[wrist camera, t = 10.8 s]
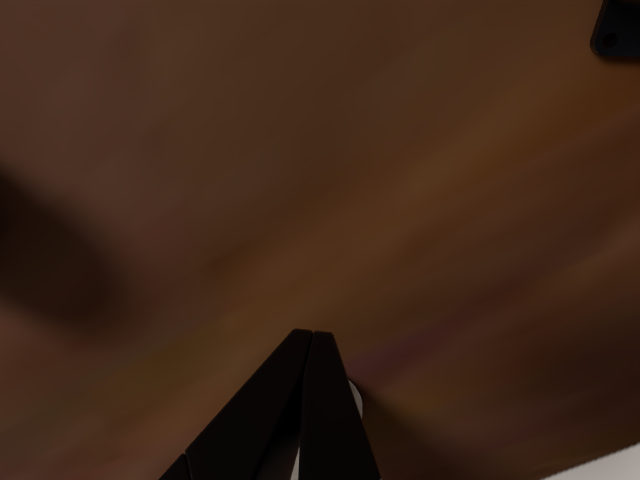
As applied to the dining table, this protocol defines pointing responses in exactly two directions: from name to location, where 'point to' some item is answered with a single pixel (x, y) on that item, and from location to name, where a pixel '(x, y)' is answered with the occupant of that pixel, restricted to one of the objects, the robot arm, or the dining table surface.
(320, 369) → the robot arm
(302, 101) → the dining table surface
